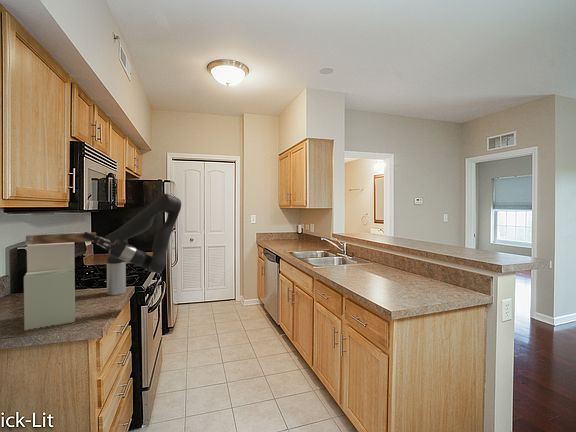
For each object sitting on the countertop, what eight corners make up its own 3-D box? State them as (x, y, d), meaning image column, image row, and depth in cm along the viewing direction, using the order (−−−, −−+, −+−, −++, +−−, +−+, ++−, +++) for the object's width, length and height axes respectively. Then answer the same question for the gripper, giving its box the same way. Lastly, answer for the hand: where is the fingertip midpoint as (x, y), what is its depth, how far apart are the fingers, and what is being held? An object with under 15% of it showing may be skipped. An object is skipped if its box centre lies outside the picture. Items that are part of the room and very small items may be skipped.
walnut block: (95, 240, 136) (95, 232, 136) (96, 241, 133) (96, 233, 133) (27, 244, 122) (27, 235, 122) (26, 244, 119) (25, 235, 119)
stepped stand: (30, 315, 134) (29, 243, 133) (74, 308, 143) (74, 241, 142) (24, 330, 117) (23, 248, 116) (74, 321, 127) (74, 245, 126)
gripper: (125, 242, 147) (88, 225, 138) (129, 245, 136) (89, 227, 127) (116, 256, 145) (78, 240, 136) (120, 260, 134) (78, 243, 125)
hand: (84, 234), depth 132 cm, fingers closed on walnut block, 3 cm apart
